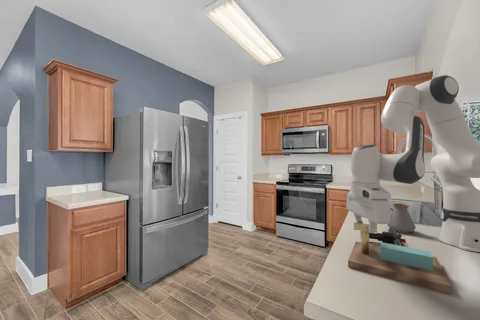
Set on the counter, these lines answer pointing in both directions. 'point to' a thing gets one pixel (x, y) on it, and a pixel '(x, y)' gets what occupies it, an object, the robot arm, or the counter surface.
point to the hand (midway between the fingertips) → (365, 229)
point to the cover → (406, 256)
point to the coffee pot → (401, 219)
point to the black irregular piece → (388, 237)
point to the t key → (364, 236)
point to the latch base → (398, 269)
